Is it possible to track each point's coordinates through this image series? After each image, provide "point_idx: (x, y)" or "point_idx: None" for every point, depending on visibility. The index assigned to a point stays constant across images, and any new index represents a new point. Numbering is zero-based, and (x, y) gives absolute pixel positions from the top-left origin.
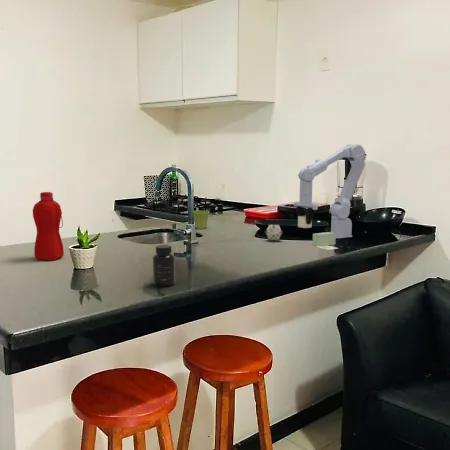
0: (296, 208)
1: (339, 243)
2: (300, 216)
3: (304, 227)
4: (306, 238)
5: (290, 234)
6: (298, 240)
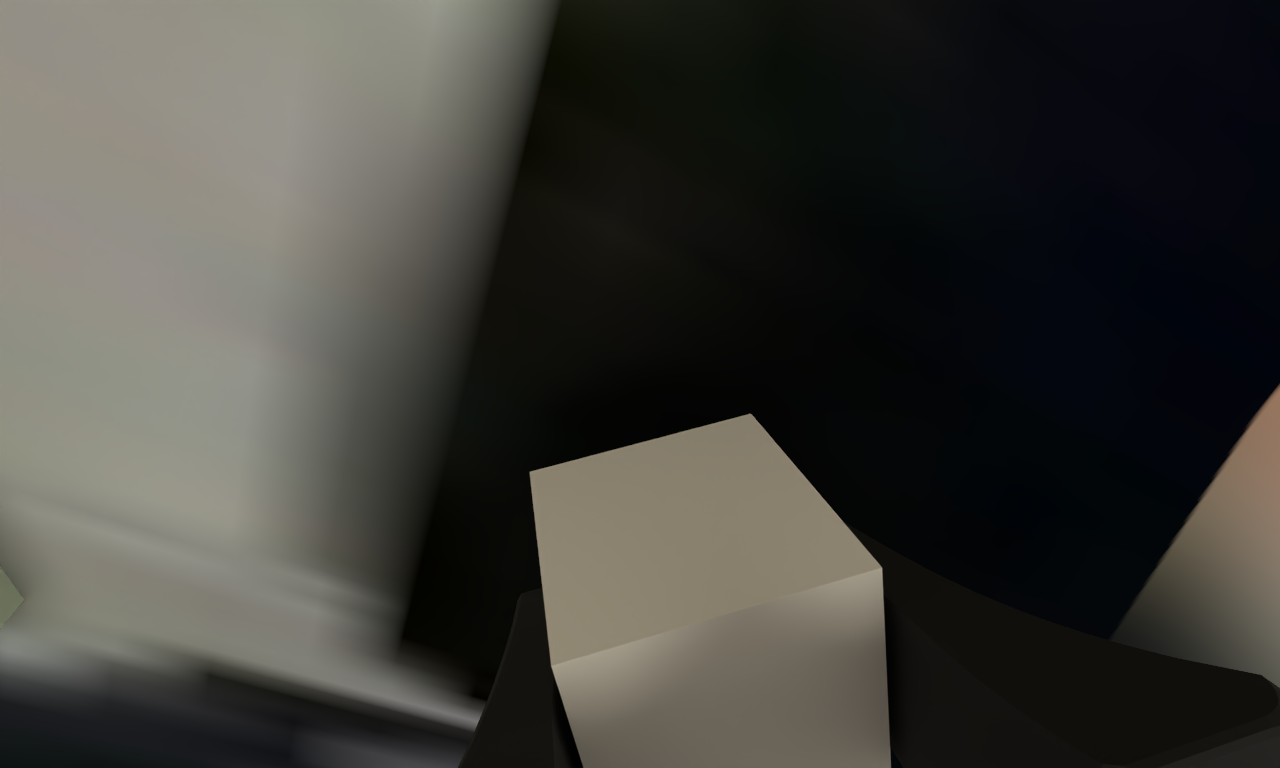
0: (1201, 759)
1: (2, 741)
2: (795, 612)
3: (534, 486)
4: (549, 434)
5: (952, 334)
6: (391, 210)
